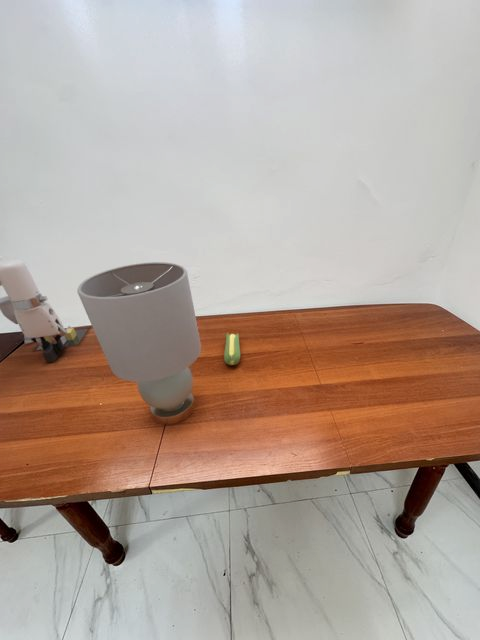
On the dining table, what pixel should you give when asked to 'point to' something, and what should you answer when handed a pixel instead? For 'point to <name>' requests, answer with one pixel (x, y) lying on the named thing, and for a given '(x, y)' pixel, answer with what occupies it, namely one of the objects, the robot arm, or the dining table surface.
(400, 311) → the dining table surface
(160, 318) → the lamp
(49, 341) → the butter block
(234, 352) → the edible corn
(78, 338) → the slate board
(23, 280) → the robot arm
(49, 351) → the knife
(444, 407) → the dining table surface
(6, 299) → the chalice
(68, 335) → the butter slice
